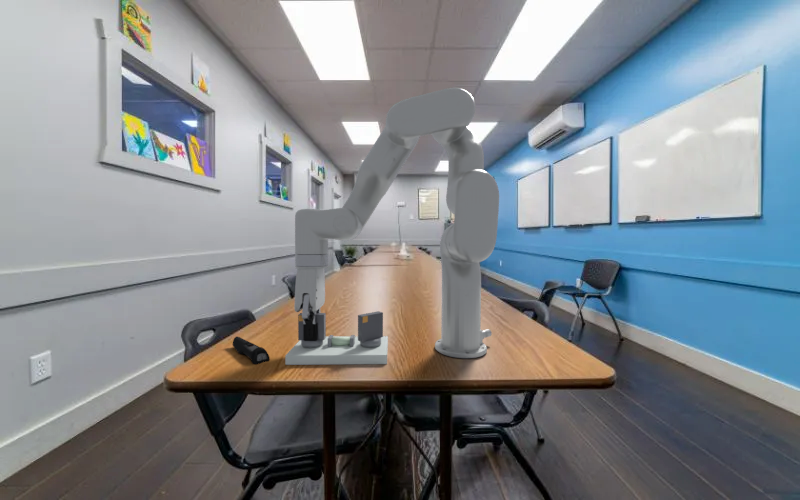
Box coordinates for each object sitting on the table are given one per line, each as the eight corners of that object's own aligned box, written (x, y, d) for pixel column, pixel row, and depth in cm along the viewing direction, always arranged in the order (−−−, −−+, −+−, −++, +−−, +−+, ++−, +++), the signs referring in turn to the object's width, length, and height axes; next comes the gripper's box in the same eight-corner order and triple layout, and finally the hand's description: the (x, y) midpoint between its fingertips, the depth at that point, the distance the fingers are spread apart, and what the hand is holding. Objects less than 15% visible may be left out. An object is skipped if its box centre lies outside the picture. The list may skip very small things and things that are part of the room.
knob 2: (374, 338, 75) (374, 310, 75) (386, 343, 71) (386, 313, 71) (354, 343, 71) (354, 313, 71) (366, 349, 67) (366, 317, 67)
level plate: (387, 343, 78) (387, 328, 78) (386, 364, 65) (386, 345, 65) (303, 344, 77) (303, 328, 77) (285, 364, 64) (285, 346, 64)
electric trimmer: (244, 346, 77) (244, 334, 77) (271, 361, 67) (271, 347, 67) (228, 350, 74) (228, 337, 74) (253, 366, 64) (253, 351, 64)
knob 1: (327, 340, 73) (327, 311, 73) (322, 347, 68) (322, 316, 68) (302, 340, 73) (302, 311, 73) (296, 347, 68) (296, 316, 68)
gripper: (305, 259, 78) (306, 329, 78) (283, 264, 62) (284, 351, 63) (334, 259, 78) (334, 329, 79) (319, 264, 62) (319, 350, 63)
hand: (312, 338), depth 71 cm, fingers closed on knob 1, 2 cm apart
